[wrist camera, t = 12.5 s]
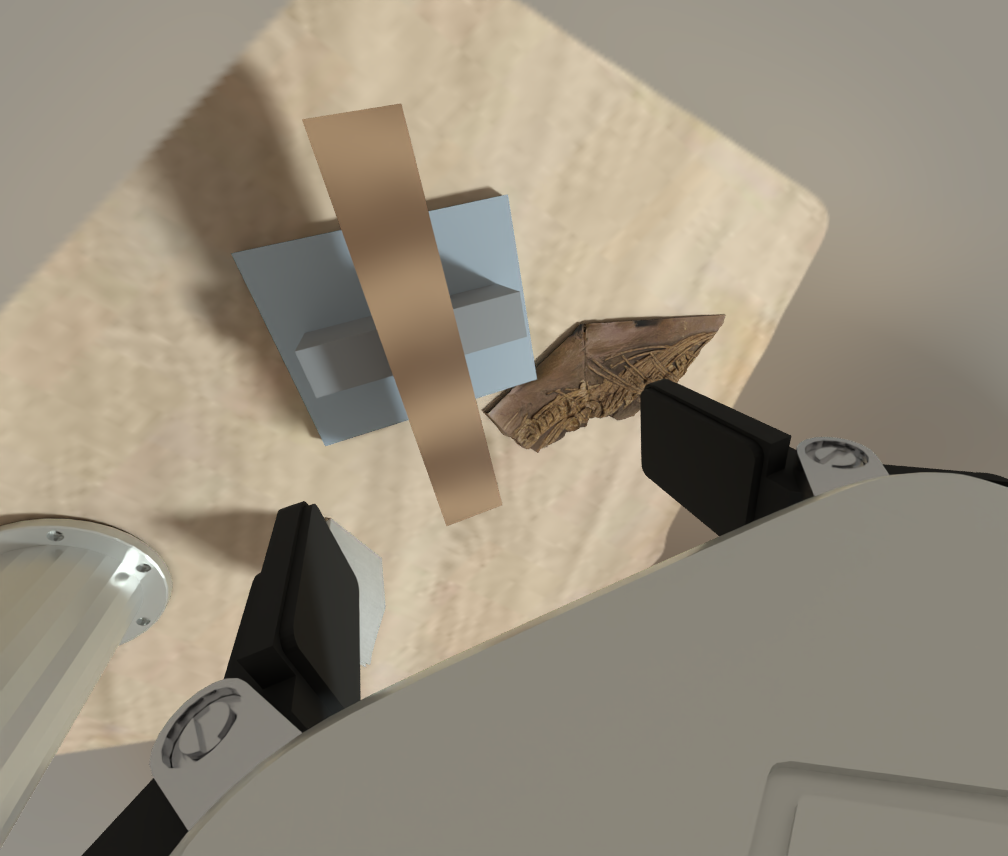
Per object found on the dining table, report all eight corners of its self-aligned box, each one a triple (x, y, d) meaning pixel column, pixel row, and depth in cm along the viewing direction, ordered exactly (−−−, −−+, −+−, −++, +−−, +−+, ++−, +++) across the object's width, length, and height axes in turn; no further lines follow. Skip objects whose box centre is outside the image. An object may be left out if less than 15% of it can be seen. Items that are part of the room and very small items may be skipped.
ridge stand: (326, 440, 31) (320, 480, 26) (235, 252, 25) (203, 257, 20) (532, 375, 35) (562, 399, 30) (503, 195, 28) (535, 186, 23)
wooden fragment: (499, 464, 38) (502, 470, 37) (468, 359, 33) (471, 362, 32) (718, 378, 43) (725, 381, 42) (722, 273, 37) (732, 274, 37)
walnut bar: (311, 140, 19) (302, 119, 16) (393, 126, 20) (401, 103, 16) (436, 492, 30) (446, 526, 26) (486, 474, 30) (502, 504, 27)
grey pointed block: (330, 517, 35) (322, 610, 26) (381, 558, 38) (388, 651, 30) (296, 542, 34) (277, 643, 26) (350, 580, 38) (348, 680, 30)
